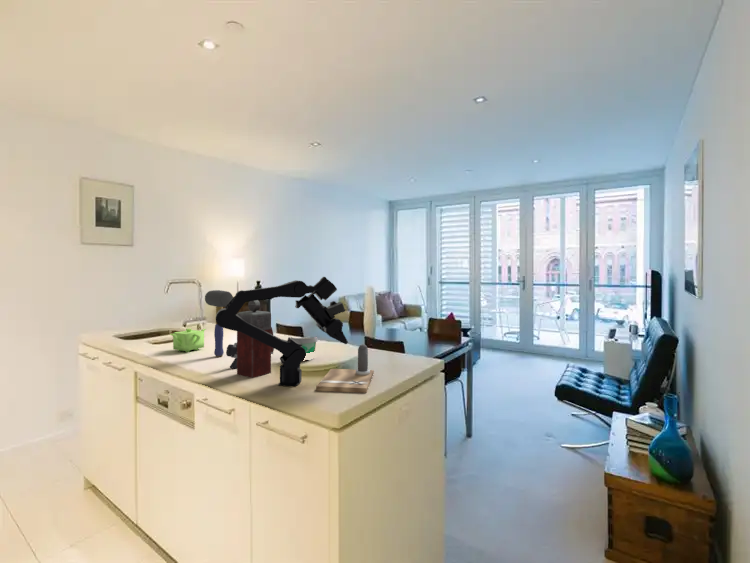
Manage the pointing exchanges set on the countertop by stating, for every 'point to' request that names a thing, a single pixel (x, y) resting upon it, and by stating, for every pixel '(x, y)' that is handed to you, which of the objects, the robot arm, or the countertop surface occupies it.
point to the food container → (307, 343)
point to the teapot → (188, 340)
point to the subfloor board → (345, 381)
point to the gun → (234, 354)
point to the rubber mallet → (218, 300)
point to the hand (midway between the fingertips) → (343, 341)
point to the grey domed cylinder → (362, 361)
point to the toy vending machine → (254, 344)
